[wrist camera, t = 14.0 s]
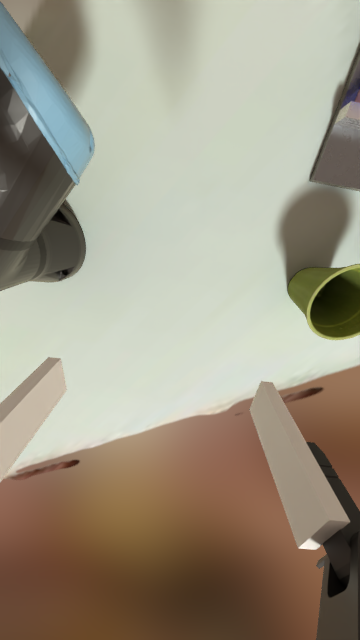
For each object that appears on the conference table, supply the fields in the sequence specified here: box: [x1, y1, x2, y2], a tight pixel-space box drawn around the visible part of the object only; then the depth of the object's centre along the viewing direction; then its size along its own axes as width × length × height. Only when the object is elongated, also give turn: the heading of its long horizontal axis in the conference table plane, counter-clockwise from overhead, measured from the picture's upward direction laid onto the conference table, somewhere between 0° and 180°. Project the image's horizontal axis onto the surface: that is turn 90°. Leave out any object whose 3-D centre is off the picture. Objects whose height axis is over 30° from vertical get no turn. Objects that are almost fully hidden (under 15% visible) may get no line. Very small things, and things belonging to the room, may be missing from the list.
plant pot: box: [288, 264, 360, 340], centre depth 33 cm, size 12×12×11 cm
